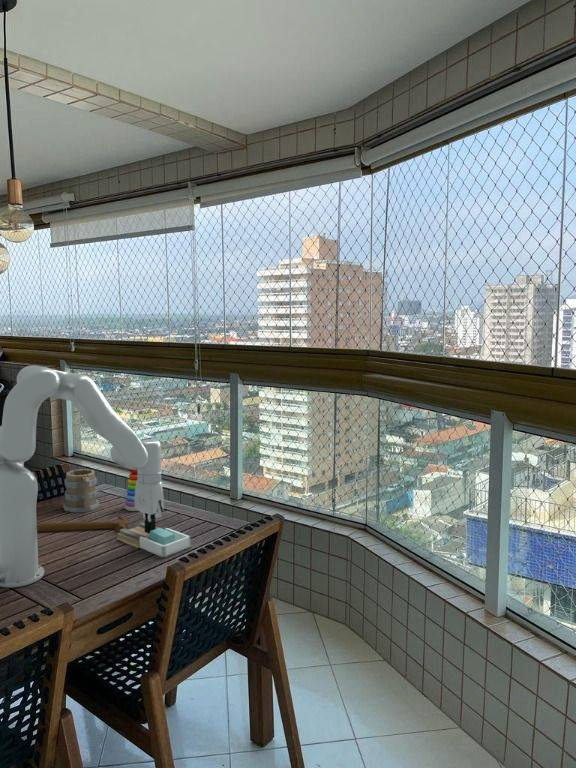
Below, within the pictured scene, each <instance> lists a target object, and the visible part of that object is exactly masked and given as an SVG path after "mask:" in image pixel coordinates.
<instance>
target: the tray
mask: <svg viewBox="0 0 576 768" xmlns="http://www.w3.org/2000/svg"><path fill="white" fill-rule="evenodd" d="M164 529H165V530H167V531H168V532H171V533H174V534H175V541H174V542H172V543H169V544H166V545H162V544H159V543H157V542H154V541H152V540H149V539H147V538H144V537H140V547H139V549H141V550H144V551H146V552H149V553H151V554H154V555H155V556H158V557H161V558H163V559H164V558H167V557H169V556H171V555H174V554H177V553H179V552H181V551H185V550H187V549H189V548H191V547H192V536H190V535H189V534H188V535H187V534H184V533H182V532H180V531H177V530H173V529H171V528H169V527H165V528H164ZM184 549H185V550H184Z"/></svg>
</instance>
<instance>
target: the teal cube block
mask: <svg viewBox="0 0 576 768" xmlns="http://www.w3.org/2000/svg"><path fill="white" fill-rule="evenodd" d="M165 531H167V530H165V528H161V527H159V528H158V529H155V530H152V531H150V540H152V541H154V542H157V534H159V533H162V532H165Z"/></svg>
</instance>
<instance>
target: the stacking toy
mask: <svg viewBox="0 0 576 768" xmlns="http://www.w3.org/2000/svg"><path fill="white" fill-rule="evenodd" d="M128 471H129V472H130V473H129V475H128V478H129V479H128V480H127V483H128V484H127V490H126V496H125V497H126V499H125V501H124V503H125V505H124V509H125V510H126V511H128V512H139V511H138V510H136V509H135V487H136V482H137V480H138V475H137V470H132V469H129V468H128Z"/></svg>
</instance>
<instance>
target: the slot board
mask: <svg viewBox="0 0 576 768" xmlns="http://www.w3.org/2000/svg"><path fill="white" fill-rule="evenodd" d="M158 528H160V526H156V529H158ZM140 537H144V538H147V539H149V540H150V533H149V534H148V533H146V532H145V521H143V522H139V524H138V526H136V527H134V528H133V527H132V528H127V529H126V528H124V529H121V530H120V533H117V532H116V540H118V541H120V542H122V543H125V544H127V545H129V546H132V547H133V548H140Z"/></svg>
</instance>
